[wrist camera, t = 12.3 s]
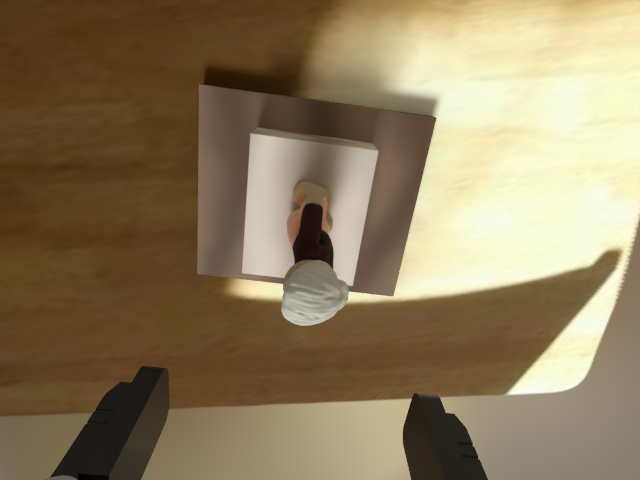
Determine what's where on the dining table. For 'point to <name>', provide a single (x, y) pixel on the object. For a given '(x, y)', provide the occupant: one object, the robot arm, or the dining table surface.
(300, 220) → the grandmother figurine
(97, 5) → the dining table surface
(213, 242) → the plinth
